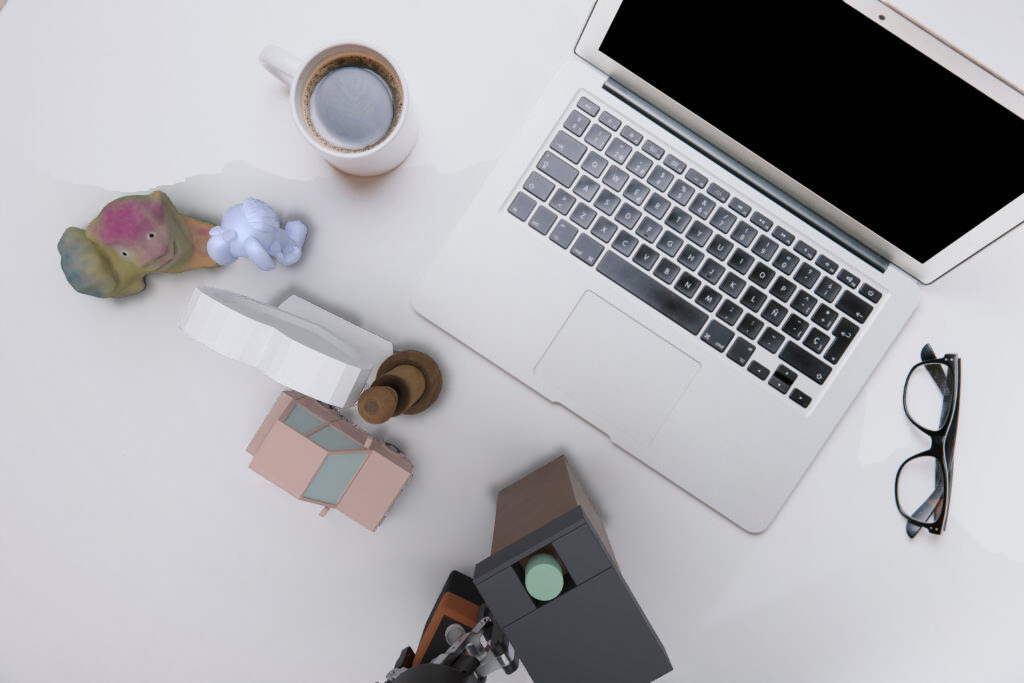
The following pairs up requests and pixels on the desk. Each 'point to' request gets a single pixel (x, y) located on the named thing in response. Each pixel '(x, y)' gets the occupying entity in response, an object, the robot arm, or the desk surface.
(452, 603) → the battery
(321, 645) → the desk surface
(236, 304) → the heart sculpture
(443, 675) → the robot arm
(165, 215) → the sculpture
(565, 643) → the dark grey tall block
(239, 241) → the toy figurine
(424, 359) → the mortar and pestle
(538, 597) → the tare button
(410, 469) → the toy car
